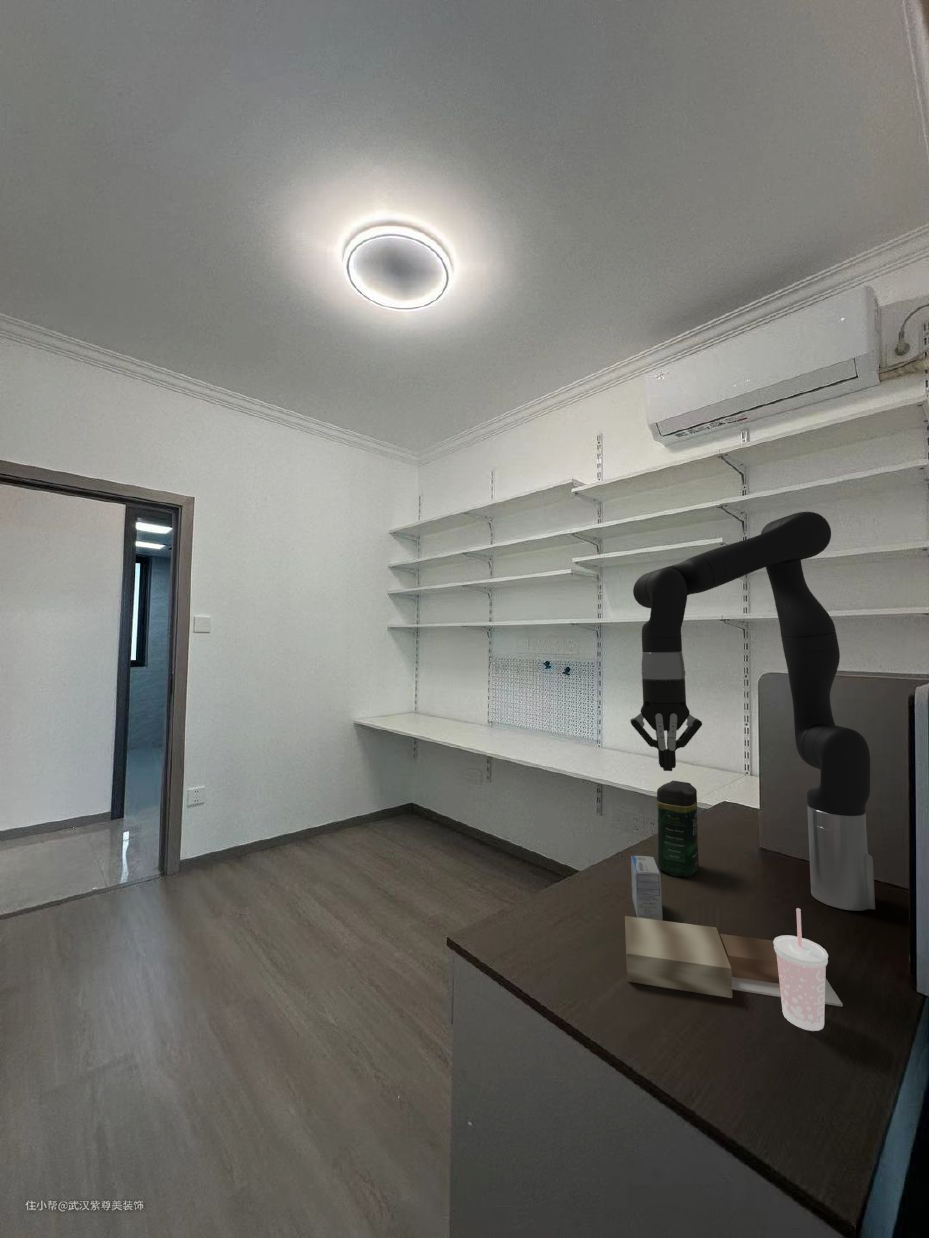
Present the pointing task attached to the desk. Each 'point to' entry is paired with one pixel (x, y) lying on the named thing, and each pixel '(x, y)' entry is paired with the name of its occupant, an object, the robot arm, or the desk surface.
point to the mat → (778, 989)
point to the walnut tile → (751, 958)
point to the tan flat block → (677, 956)
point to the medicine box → (646, 888)
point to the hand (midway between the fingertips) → (667, 769)
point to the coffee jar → (677, 828)
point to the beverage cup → (801, 979)
